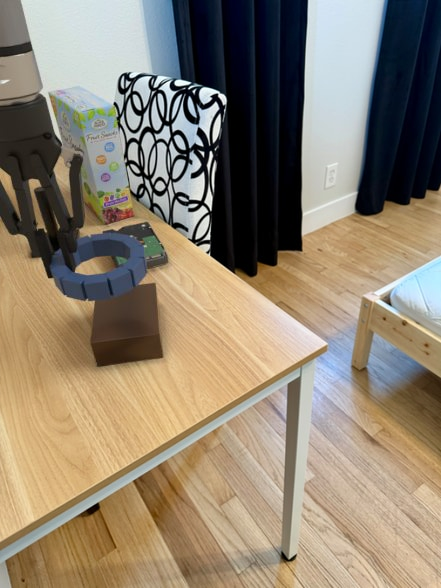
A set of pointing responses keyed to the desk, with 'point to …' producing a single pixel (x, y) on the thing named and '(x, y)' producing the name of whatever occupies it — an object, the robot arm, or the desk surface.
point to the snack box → (95, 150)
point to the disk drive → (149, 240)
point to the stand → (127, 327)
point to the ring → (102, 283)
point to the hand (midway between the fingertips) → (62, 271)
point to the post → (49, 220)
